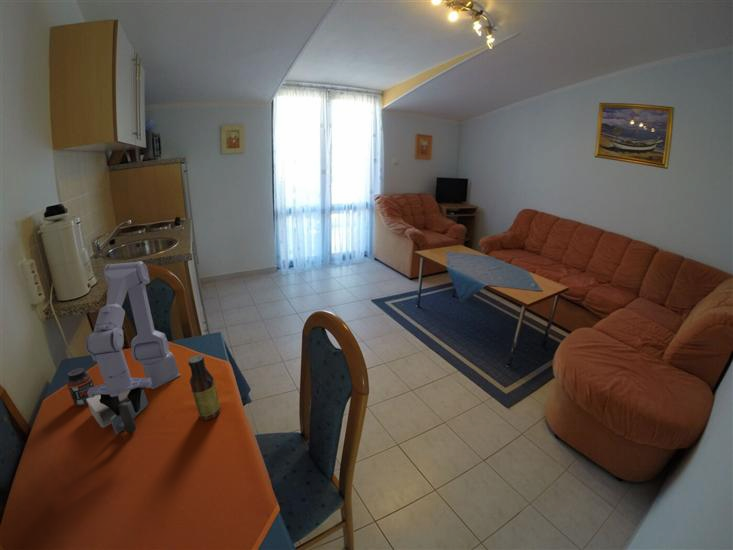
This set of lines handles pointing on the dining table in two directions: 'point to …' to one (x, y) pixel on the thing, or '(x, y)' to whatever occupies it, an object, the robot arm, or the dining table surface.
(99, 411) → the carton
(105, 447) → the dining table surface
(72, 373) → the supplement bottle
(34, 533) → the dining table surface
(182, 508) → the dining table surface
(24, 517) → the dining table surface
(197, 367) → the sauce bottle
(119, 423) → the dark grey door handle
